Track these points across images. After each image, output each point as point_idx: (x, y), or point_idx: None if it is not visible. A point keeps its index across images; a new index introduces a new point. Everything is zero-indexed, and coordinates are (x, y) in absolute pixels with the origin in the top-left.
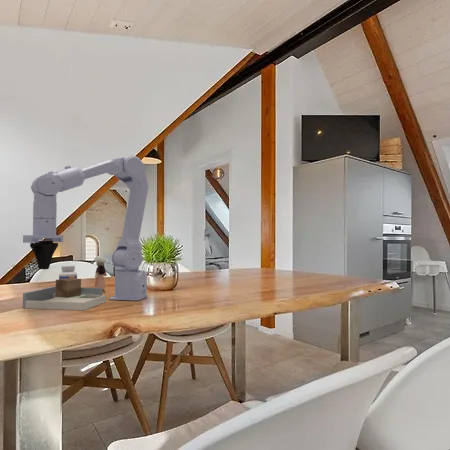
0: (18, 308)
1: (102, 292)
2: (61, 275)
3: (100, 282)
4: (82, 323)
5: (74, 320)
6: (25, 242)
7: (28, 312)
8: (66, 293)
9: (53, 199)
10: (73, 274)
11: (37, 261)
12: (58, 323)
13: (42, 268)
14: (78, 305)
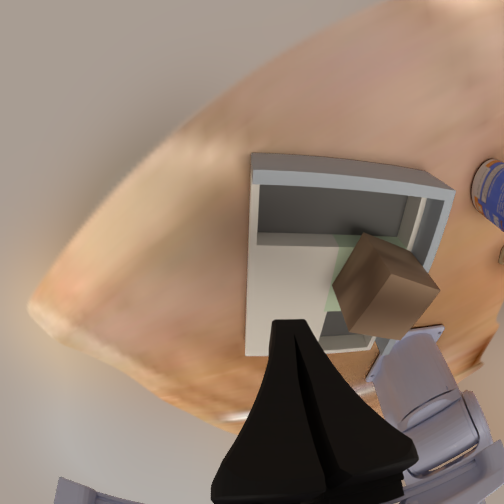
0: (245, 138)
1: (500, 263)
2: None
3: None
4: (133, 371)
5: (146, 356)
6: (70, 483)
7: (184, 222)
8: (338, 291)
9: None
10: None
11: (270, 358)
12: (114, 343)
13: (270, 341)
14: (245, 340)
